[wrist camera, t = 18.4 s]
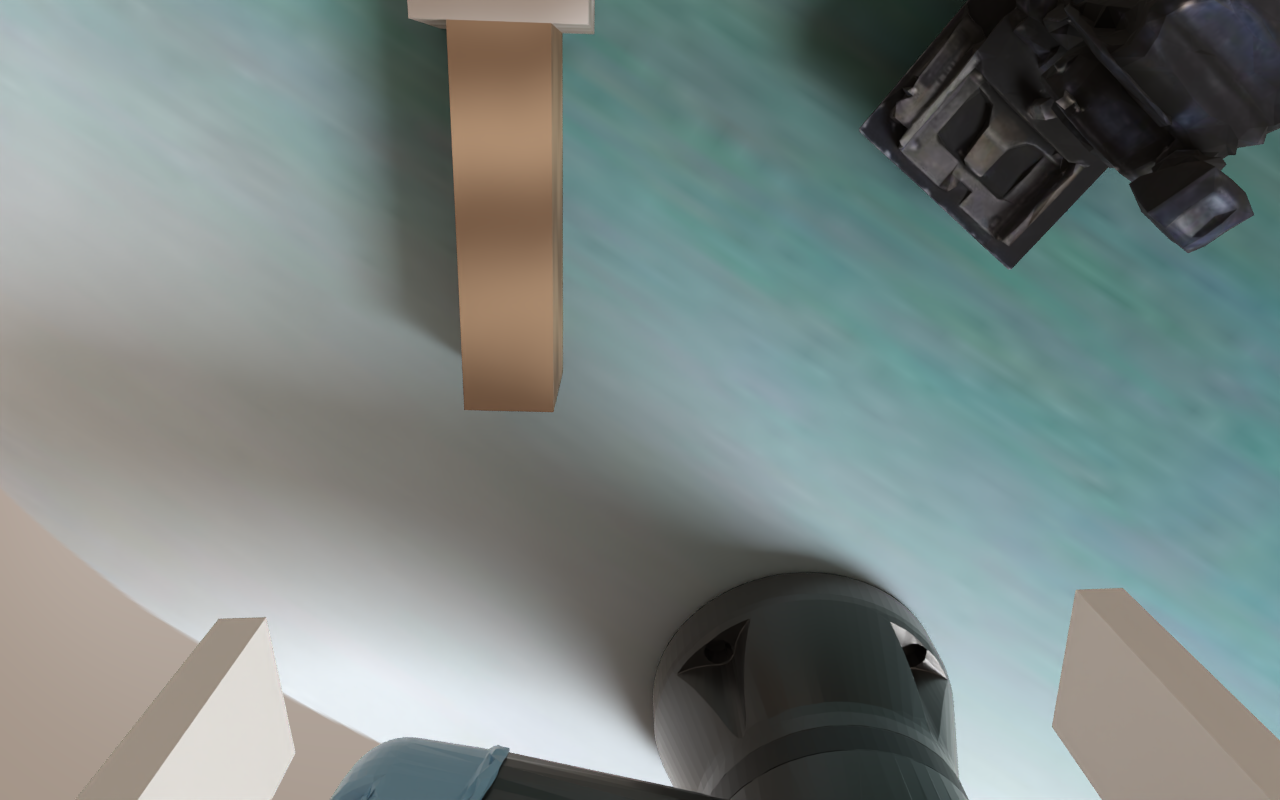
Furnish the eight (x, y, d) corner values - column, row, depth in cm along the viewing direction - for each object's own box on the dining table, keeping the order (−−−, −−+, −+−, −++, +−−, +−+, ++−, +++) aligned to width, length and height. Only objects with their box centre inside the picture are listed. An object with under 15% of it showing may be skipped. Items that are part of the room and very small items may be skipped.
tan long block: (590, 372, 37) (585, 412, 32) (457, 369, 37) (432, 409, 32) (594, 0, 32) (588, -16, 27) (438, -6, 32) (406, -23, 27)
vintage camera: (821, 110, 34) (1042, 178, 15) (1126, -249, 29) (1967, -769, 11) (981, 257, 36) (1336, 468, 18) (1285, -53, 31) (2195, -202, 13)
